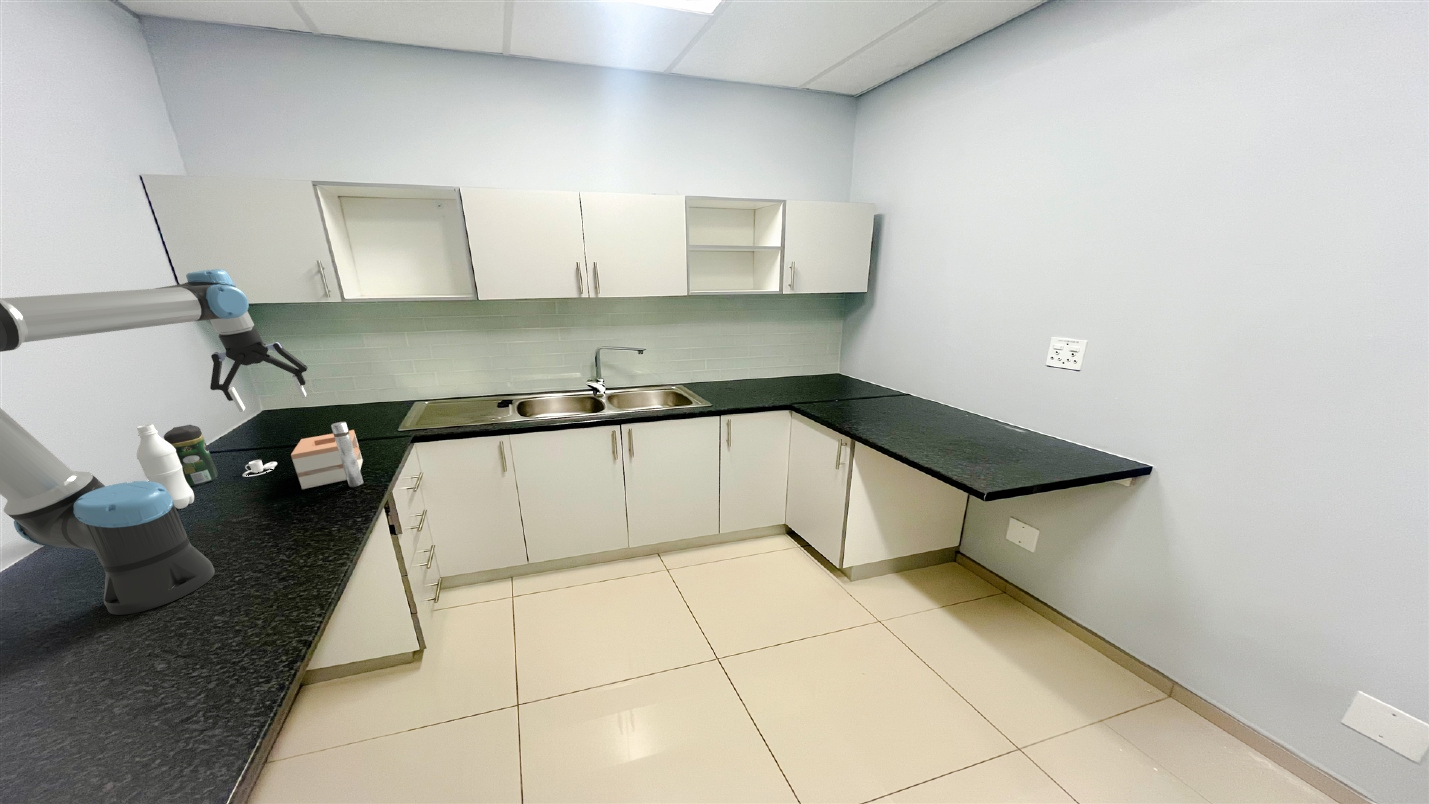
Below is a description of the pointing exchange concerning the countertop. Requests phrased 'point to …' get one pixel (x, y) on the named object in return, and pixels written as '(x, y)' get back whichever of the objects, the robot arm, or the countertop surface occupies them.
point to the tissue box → (321, 460)
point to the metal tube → (347, 454)
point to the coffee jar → (192, 454)
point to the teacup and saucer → (259, 467)
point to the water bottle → (163, 465)
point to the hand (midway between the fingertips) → (274, 402)
